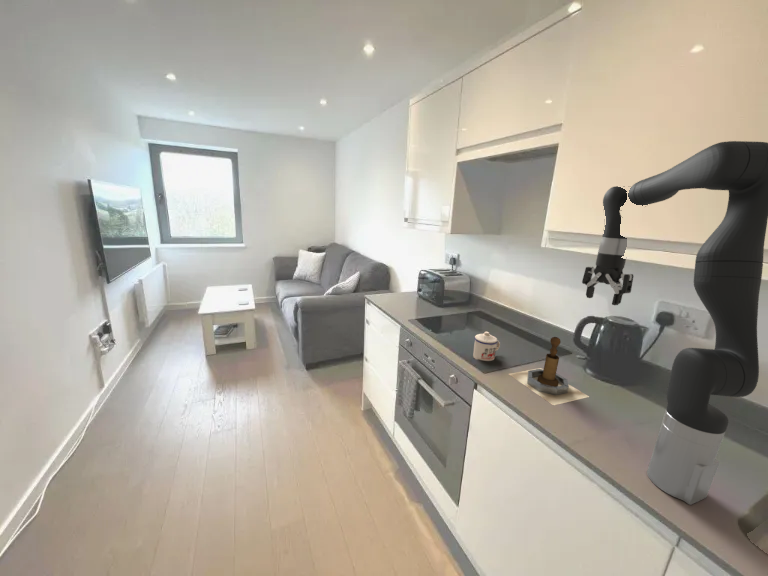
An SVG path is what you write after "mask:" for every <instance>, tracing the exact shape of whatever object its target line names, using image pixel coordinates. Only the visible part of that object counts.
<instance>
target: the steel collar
mask: <svg viewBox="0 0 768 576" xmlns="http://www.w3.org/2000/svg"><path fill="white" fill-rule="evenodd" d="M534 369H535V370H532V369H529V370H530V371H528V376H527V384H529V385H530V386H532V387H533V388H534V389H536V390H537V391H539V392H543V393H547V394H551V395H555V396H557V395H562V394H566V393H568V388H569V386H568V384H569V382H568V378H565V377H564V376H562V375H560V374H558V373H557V372H556V376H555V378H556V379H557V380H558V382H559V384H560V385H562V386H557V387H554V386H549V385H545V384H541V383H540V382H538V381H537V380H535V379H534V378H535V377H538V376H539V375H541V374H543V370H542V369H543V368H542V369H538V368H534Z"/></svg>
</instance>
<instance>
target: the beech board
mask: <svg viewBox="0 0 768 576" xmlns="http://www.w3.org/2000/svg"><path fill="white" fill-rule="evenodd" d="M535 369H536V368H534V369H527V370H522V371H517V372H512V373H508V375H509V376H511V377H512V378H514V380H516V381H517V382H519V383H520V384H522V385H524V386H525V387H527V388H528V389H529V390H530V391H532V392H533V393H535V394H536V395H538V396H539V397H540V398H542V399H543V400H545V401H546V402H547V403H549V404H551V405H552V406H558V405H562V404H566V403H570V402H573V401H578V400H582V399H586V398H587V399H588V398H590V396H589V395H587V394H586V393H584V392H582V391H580V390H579V389H578V388H576V387H574V386H572V385H570V384H569V383H568V386H569V388H568V393H566V394H562V395H557V396H555V395H551V394H547V393H543V392H539V391H537V390H536V389H534V388H533V387H532V386H530V385H529V384H527V376H528V371H530V370H535ZM537 369H542V370H544V368H541V367H540V368H539V367H538V368H537ZM534 379H535V380H538V377H535V378H534ZM558 386H562V385H560V384H559V383H558Z"/></svg>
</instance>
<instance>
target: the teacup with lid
mask: <svg viewBox="0 0 768 576" xmlns="http://www.w3.org/2000/svg"><path fill="white" fill-rule="evenodd" d="M500 346H501V342H500V341H499V340H498V338H497V337H496V336H493V335H492V334H490V332H489V331H484V333H478V334H476V335H475V336H474V345H473V355H472V358H474V360H475V361H476V360H479V361H485V362H491V361H494V360H495V359H496V353H497V351H498V350H499V349H500Z"/></svg>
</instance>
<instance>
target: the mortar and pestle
mask: <svg viewBox="0 0 768 576" xmlns="http://www.w3.org/2000/svg"><path fill="white" fill-rule="evenodd" d="M549 342H550V344H551V348H550V349H549V353H546V355H545V361H544V365H543V366H544V367H543V369H544V370H543V374H541V375H539V376H538V380H537V381H538V382H540V383H541V384H545V385H549V386H554V387H557V386H558V383H559V382H558V380H557V379H556V378H555V376H556V373H557V372H558V371H557V370H558V365H559V361H560V357H559V356H558V355H557V353H558V349H557V348H558V347H559V345H560V344H561V339H560V338H559V337H558V336H553V337H551V338H550V341H549Z"/></svg>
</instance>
